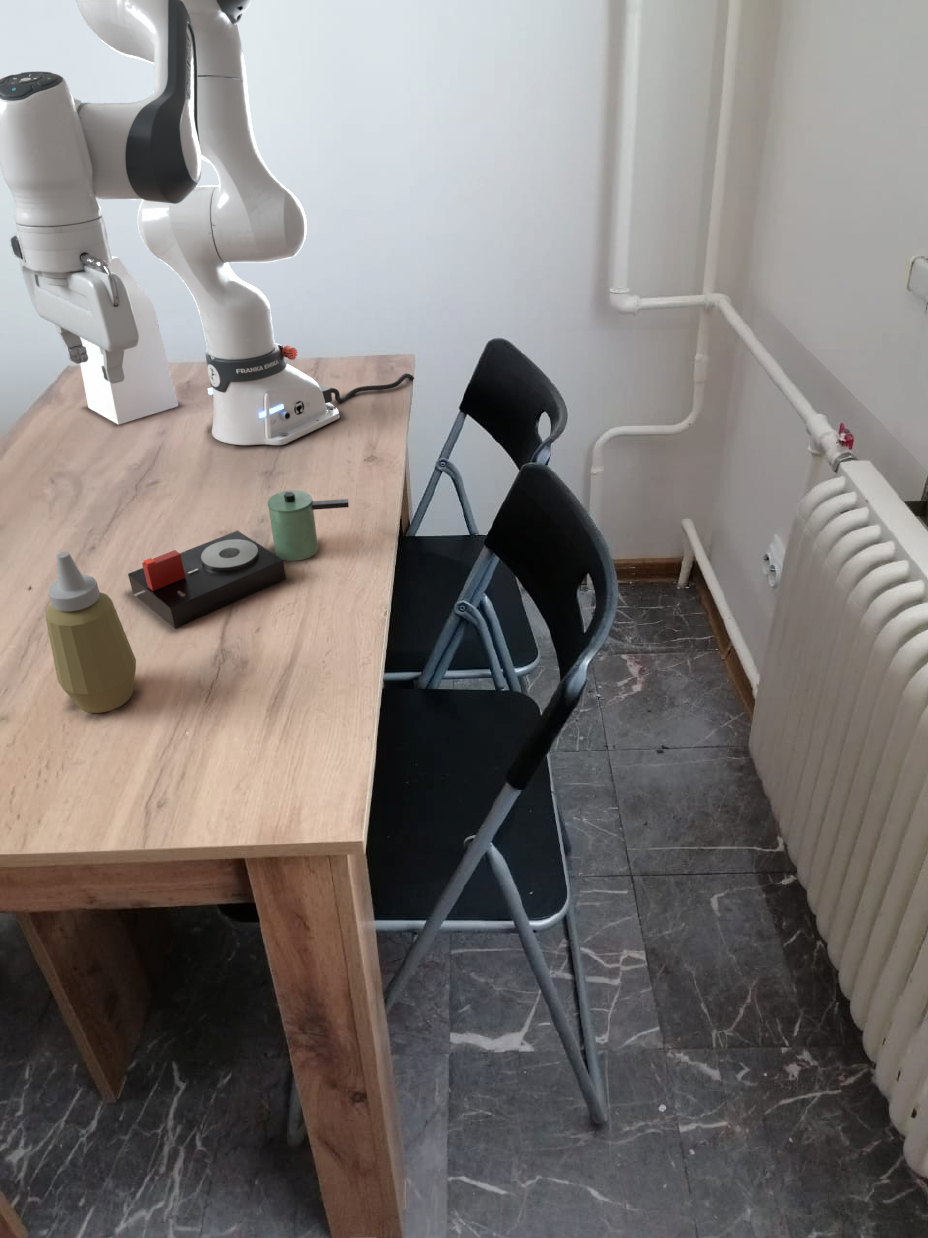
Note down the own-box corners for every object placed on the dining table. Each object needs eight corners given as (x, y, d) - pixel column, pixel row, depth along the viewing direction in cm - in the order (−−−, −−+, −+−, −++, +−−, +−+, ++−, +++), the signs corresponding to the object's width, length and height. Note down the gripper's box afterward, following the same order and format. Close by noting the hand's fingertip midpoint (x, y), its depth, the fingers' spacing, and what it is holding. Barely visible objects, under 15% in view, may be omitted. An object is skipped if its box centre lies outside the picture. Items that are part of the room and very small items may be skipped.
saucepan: (322, 526, 134) (316, 472, 129) (356, 546, 129) (351, 490, 124) (266, 550, 129) (257, 494, 124) (299, 571, 124) (291, 514, 119)
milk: (147, 390, 180) (117, 248, 165) (178, 405, 173) (149, 258, 158) (88, 407, 173) (51, 260, 158) (118, 424, 166) (82, 272, 152)
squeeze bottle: (77, 677, 106) (33, 537, 96) (150, 672, 106) (113, 532, 96) (57, 723, 99) (7, 578, 89) (135, 718, 100) (94, 573, 89)
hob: (240, 549, 129) (237, 529, 127) (286, 579, 122) (283, 558, 120) (119, 599, 119) (113, 578, 117) (161, 635, 112) (155, 613, 110)
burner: (239, 537, 126) (238, 533, 125) (269, 557, 121) (268, 552, 121) (191, 556, 122) (190, 552, 121) (220, 577, 117) (219, 573, 117)
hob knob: (180, 573, 118) (174, 547, 116) (186, 577, 117) (180, 551, 115) (147, 587, 115) (141, 560, 113) (152, 591, 115) (146, 565, 113)
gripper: (138, 257, 97) (164, 386, 105) (56, 228, 110) (85, 345, 118) (79, 268, 94) (111, 401, 102) (2, 237, 106) (35, 357, 114)
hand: (96, 370), depth 110 cm, fingers open, 8 cm apart
